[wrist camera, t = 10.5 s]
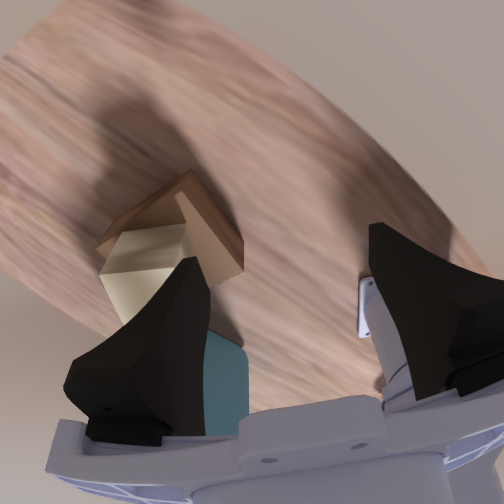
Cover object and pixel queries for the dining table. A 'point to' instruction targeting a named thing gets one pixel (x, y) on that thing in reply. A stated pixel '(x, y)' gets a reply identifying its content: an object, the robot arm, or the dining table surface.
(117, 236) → the walnut base block
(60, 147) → the dining table surface
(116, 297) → the birch cube
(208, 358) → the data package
